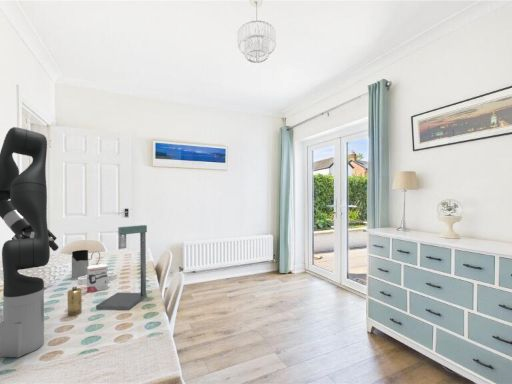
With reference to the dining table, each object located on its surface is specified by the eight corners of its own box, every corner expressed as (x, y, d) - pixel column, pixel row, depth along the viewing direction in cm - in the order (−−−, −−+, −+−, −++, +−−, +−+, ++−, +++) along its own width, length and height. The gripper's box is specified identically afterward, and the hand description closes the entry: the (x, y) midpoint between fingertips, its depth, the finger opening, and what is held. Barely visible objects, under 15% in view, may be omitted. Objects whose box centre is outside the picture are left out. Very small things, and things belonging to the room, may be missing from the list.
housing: (75, 316, 99) (75, 289, 99) (64, 315, 100) (64, 289, 100) (84, 310, 104) (84, 285, 104) (73, 310, 104) (73, 285, 104)
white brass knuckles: (117, 274, 153) (116, 282, 139) (80, 279, 145) (75, 287, 131) (117, 269, 153) (115, 275, 140) (80, 273, 145) (75, 281, 132)
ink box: (87, 293, 123) (87, 268, 123) (87, 290, 127) (87, 266, 127) (107, 289, 128) (107, 265, 128) (107, 286, 132) (107, 263, 132)
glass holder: (69, 277, 147) (69, 251, 147) (98, 272, 156) (98, 247, 156) (71, 281, 140) (71, 253, 140) (101, 275, 149) (101, 249, 150)
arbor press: (131, 310, 104) (130, 229, 104) (96, 309, 105) (95, 229, 105) (149, 295, 119) (149, 225, 119) (118, 295, 120) (118, 225, 120)
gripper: (8, 218, 97) (36, 249, 96) (43, 214, 111) (68, 241, 110) (-5, 232, 97) (23, 263, 96) (31, 227, 111) (56, 254, 110)
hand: (47, 251), depth 103 cm, fingers open, 8 cm apart
